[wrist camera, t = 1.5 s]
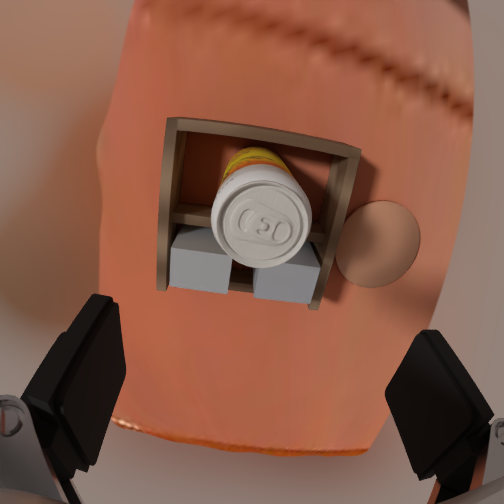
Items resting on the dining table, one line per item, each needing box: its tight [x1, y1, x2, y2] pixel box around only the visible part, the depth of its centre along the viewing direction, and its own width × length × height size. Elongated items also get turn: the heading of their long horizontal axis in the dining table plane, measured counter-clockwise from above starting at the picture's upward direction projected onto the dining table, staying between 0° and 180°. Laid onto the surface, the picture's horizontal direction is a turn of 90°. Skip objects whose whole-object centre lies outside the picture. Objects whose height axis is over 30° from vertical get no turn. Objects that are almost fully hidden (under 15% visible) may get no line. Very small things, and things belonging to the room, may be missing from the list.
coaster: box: [335, 200, 420, 288], centre depth 34 cm, size 11×11×1 cm
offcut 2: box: [253, 241, 321, 304], centre depth 32 cm, size 4×6×7 cm
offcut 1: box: [170, 224, 232, 294], centre depth 31 cm, size 4×6×7 cm
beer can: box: [211, 146, 312, 268], centre depth 24 cm, size 6×6×15 cm
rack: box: [157, 117, 361, 310], centre depth 30 cm, size 17×17×5 cm
